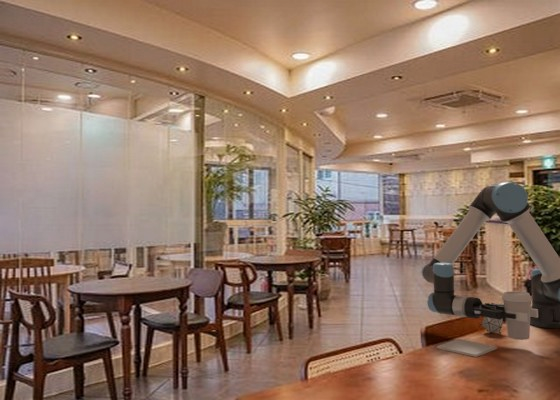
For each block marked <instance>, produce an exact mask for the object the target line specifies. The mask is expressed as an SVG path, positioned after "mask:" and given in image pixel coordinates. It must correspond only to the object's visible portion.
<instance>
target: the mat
mask: <svg viewBox="0 0 560 400" xmlns="http://www.w3.org/2000/svg"><path fill="white" fill-rule="evenodd" d="M436 348H437V349H439V350H443V351H447V352H451V353H455V354H461V355H464V356H470V357H474V358H478V357H480V356H482V355H485V354H487V353H491V352H492V351H495V350H497V346H496V345H491V344H486V343H480V342H476V341H471V340H466V339H461V338H457V339H454V340H451V341H448V342H446V343H443V344H440V345H437V347H436Z"/></svg>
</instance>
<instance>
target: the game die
mask: <svg viewBox="0 0 560 400" xmlns="http://www.w3.org/2000/svg"><path fill="white" fill-rule="evenodd" d="M505 322H506V321H503V319H501V320H499V319H494V318H489V317H483V318H482V321H481V323H479V324H478V325H479V326H482V328H484V329H485V330H486V332H489V335H491V334H492V333H493V334H494V333H499V334H502V332H501V329H502V327H503V324H504V323H505Z"/></svg>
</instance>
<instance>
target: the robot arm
mask: <svg viewBox="0 0 560 400" xmlns="http://www.w3.org/2000/svg"><path fill="white" fill-rule="evenodd" d="M528 199H529V196H528V193H527V191H526V189H525V188H524V187H523V186H522V185H521V184H519V183H517V182H511V181H503V182H498V183H492V184H491V183H490V184H488V185H487V186H485V187H484V188H483V189H481V190H480V192H479V193H478V194H477V196H475V198H474V199H473V201H472V202H471V203H470V205H469V206H468V211H467V213H466V215H465V216H464V217H463V219H462V220H461V221H460V222H459V224H458V225H457V226H456V228H455V229H454V231H453V232H452V233H451V235H450V236H449V237H448V238H447V239H446V241H445V242H444V243H443V244H442V246H441V248H440V249H439V250H438V252H436V255H434V257H433V258H432V259H431V261H430V262H429V263H427V264H424V266H422V269H421V276H422V278H423V279H424V281H426V282H428V283H430V284H432V285H433V292H431V293H430V294H428V297H427V298H428V299H427V307H428V309H429V310H430V311H431V312H433V313H437V314H441V315H449V316H451V315H452V316H456V317H460V318H461V319H463V317H464V318H471V319H475V320H476V319H480V317H483V318H484V317H489V318H494V319H499V320H501V319H502V320H503V321H505V322H506V318H507V319H510V320H517V321H524V322H528V320H527V313H521V312H512V311H505V309H504V303H494V302H491V303H490V302H485V303H483V302H482V300H481V298H479V297H474V296H473V297H472V296H466V295H455V276H454V275H455V271H454V263H455V262H456V260H457V259H458V258H459V257H460V255H462V253H463V251H464V250H465V249H466V248H467V246H468V245H469V244H470V242H471V241H472V240H473V238H474V237H475V236H476V234H477V233H478V232H479V230H480V229H481V228H482V227H483V225H484V223H485V222H490V220H491V219H492V218H493V217H494V216H495V215H496V216H498V218H499V219H500V221H501V222H502V223H505V224H508V225H509V227H510V228H511V230H512V231H513V233H514V234H515V236H516V237H517V239H518V240H519V242H520V243H521V245H522V246H523V248H524V249H525V251H526V252H527V254H528V255H529V257H530V258H531V260H532V262H533V263H534V264H535V267H536V268H535V269H534V268H533V269H532V270H531V273H530V274H531V275H530V279H531V282H530V283H531V285H530V286H531V297H532V300H533V301H531V313H530V324H531V325H530V326H533V325H534V327H537V328H544V329H545V328H546V329H560V256H559V255H558V253H557V252H556V251H555V249H554V247H553V245H552V244H551V243H550V241H549V239H547V237H546V235H545V234H544V232H543V231H542V229H541V228H540V227H539V225H538V223H537V222H536V220H535V218H534V217H533V215H532V214H531V213H530V210H531V205H530V204H529V202H528ZM506 312H507V313H506Z"/></svg>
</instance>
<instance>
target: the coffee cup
mask: <svg viewBox="0 0 560 400" xmlns="http://www.w3.org/2000/svg"><path fill="white" fill-rule="evenodd" d="M501 300H502V301H503V304H504V309H505V311H512V312H521V313H527V320H528V322H524V321H517V320H510V319H507V318H506V321H505V322H506V323H505V324H506V329H507V330H506V331H507V336H508V338H510V339H512V340H513V339H514V340H519V341H520V340H522V341H524V340H525V341H526V340H529V339H530V335H531V334H530V331H531V330H530V328H531V325H530V313H531V307H532V301H533V300H532V295H530V293H529V292H526V291H514V290H513V291H504V293H503V295H502V296H501ZM506 313H507V312H506Z"/></svg>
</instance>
